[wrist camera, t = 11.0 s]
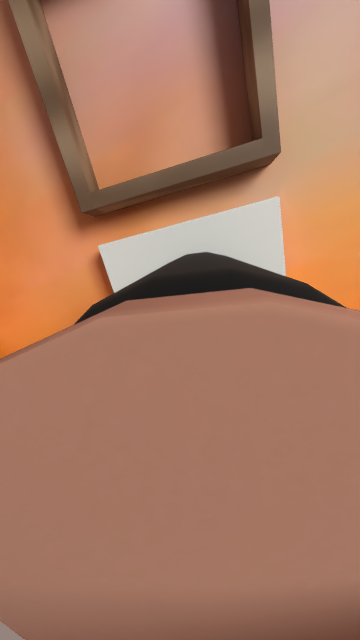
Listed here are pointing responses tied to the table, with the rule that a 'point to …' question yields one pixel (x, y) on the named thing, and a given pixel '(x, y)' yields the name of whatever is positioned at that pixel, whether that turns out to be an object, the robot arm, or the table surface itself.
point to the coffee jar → (185, 464)
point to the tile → (201, 242)
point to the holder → (177, 177)
